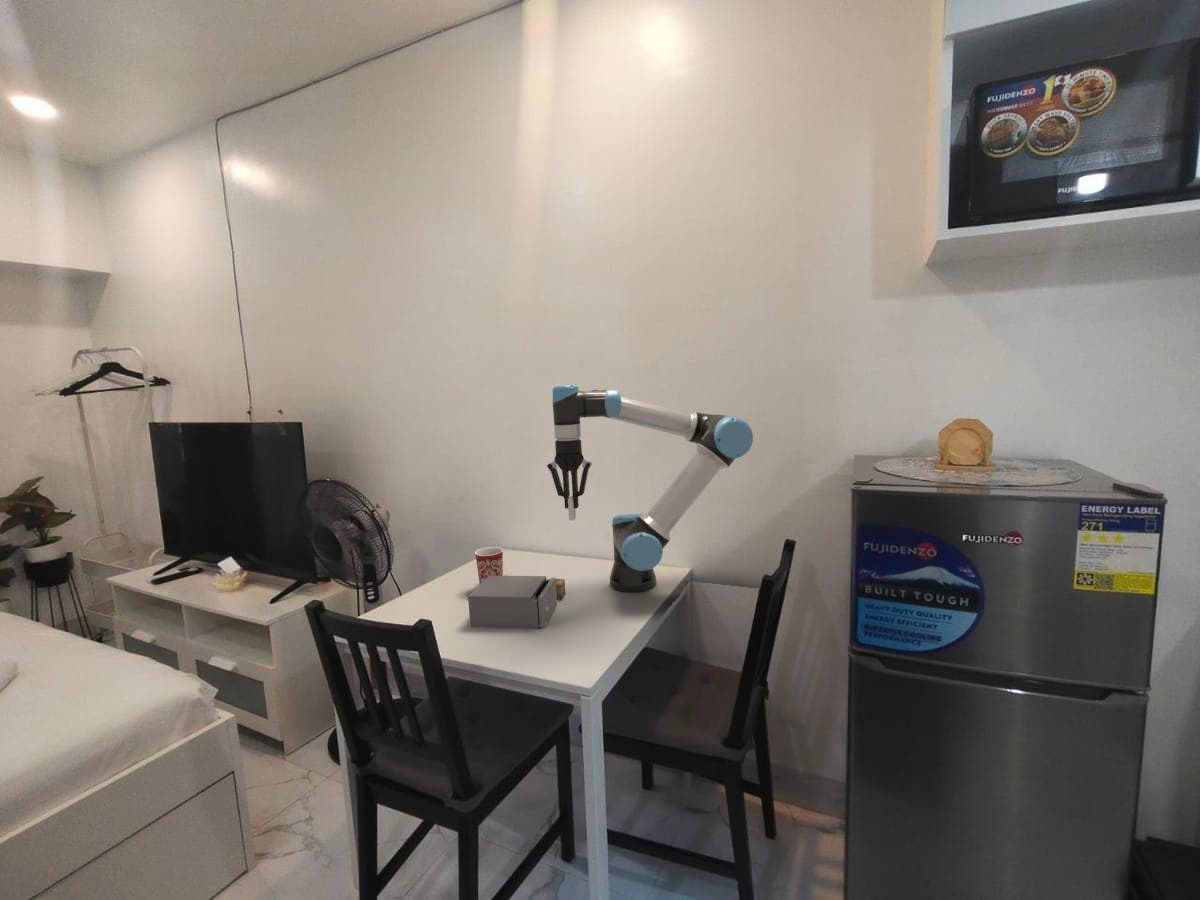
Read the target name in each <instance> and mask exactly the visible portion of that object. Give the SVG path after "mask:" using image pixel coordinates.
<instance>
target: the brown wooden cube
mask: <svg viewBox="0 0 1200 900" xmlns="http://www.w3.org/2000/svg"><path fill="white" fill-rule="evenodd" d="M556 592H557V601H563V600H564V598H565V596H566V579H565V578H556Z"/></svg>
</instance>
